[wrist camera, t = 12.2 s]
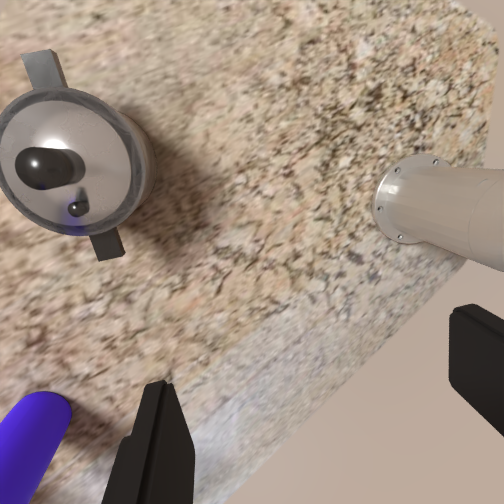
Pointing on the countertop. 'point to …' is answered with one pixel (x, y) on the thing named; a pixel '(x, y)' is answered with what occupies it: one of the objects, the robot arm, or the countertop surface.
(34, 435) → the bottle
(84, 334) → the countertop surface
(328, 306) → the countertop surface
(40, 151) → the lid
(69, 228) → the pot
